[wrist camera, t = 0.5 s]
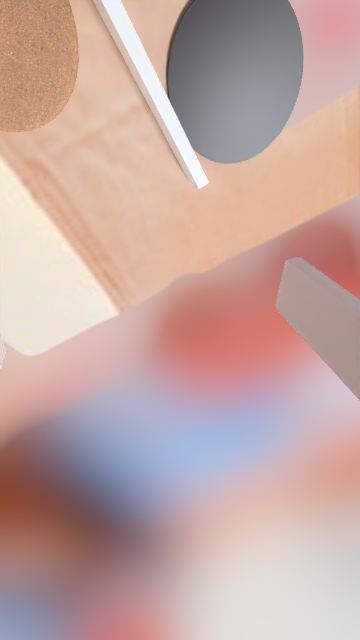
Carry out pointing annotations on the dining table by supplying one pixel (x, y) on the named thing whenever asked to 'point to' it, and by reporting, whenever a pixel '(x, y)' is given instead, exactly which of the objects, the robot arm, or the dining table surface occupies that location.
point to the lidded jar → (35, 61)
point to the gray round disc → (235, 75)
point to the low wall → (150, 87)
